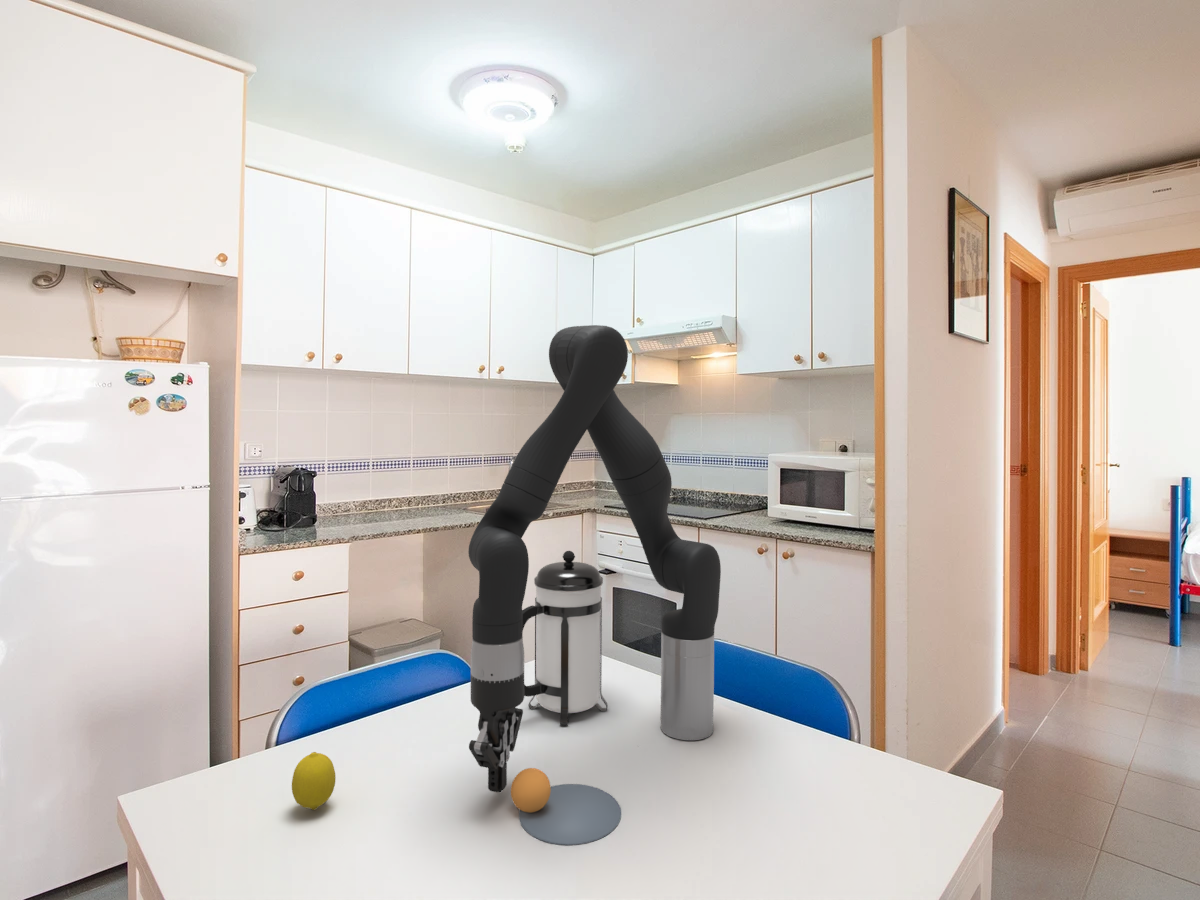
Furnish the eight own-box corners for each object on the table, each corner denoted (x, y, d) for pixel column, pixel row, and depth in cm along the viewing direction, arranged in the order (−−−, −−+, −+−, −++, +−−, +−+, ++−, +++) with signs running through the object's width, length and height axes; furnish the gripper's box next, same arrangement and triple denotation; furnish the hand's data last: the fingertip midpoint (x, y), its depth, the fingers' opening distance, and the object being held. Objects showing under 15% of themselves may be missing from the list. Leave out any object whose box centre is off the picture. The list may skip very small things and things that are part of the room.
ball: (548, 756, 93) (564, 794, 92) (521, 764, 95) (536, 801, 94) (524, 777, 88) (541, 817, 87) (496, 785, 91) (512, 824, 90)
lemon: (319, 823, 88) (319, 764, 87) (283, 818, 89) (282, 760, 89) (343, 800, 93) (343, 745, 93) (308, 796, 94) (308, 741, 94)
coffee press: (533, 690, 132) (533, 542, 131) (612, 695, 130) (613, 545, 129) (509, 729, 115) (509, 559, 114) (600, 736, 113) (601, 562, 112)
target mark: (542, 778, 99) (542, 777, 99) (632, 794, 95) (632, 793, 95) (501, 833, 86) (501, 831, 86) (604, 854, 82) (604, 852, 82)
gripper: (501, 689, 86) (501, 820, 86) (540, 656, 98) (539, 770, 99) (450, 682, 88) (450, 810, 89) (494, 650, 101) (494, 762, 101)
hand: (497, 788), depth 94 cm, fingers closed
